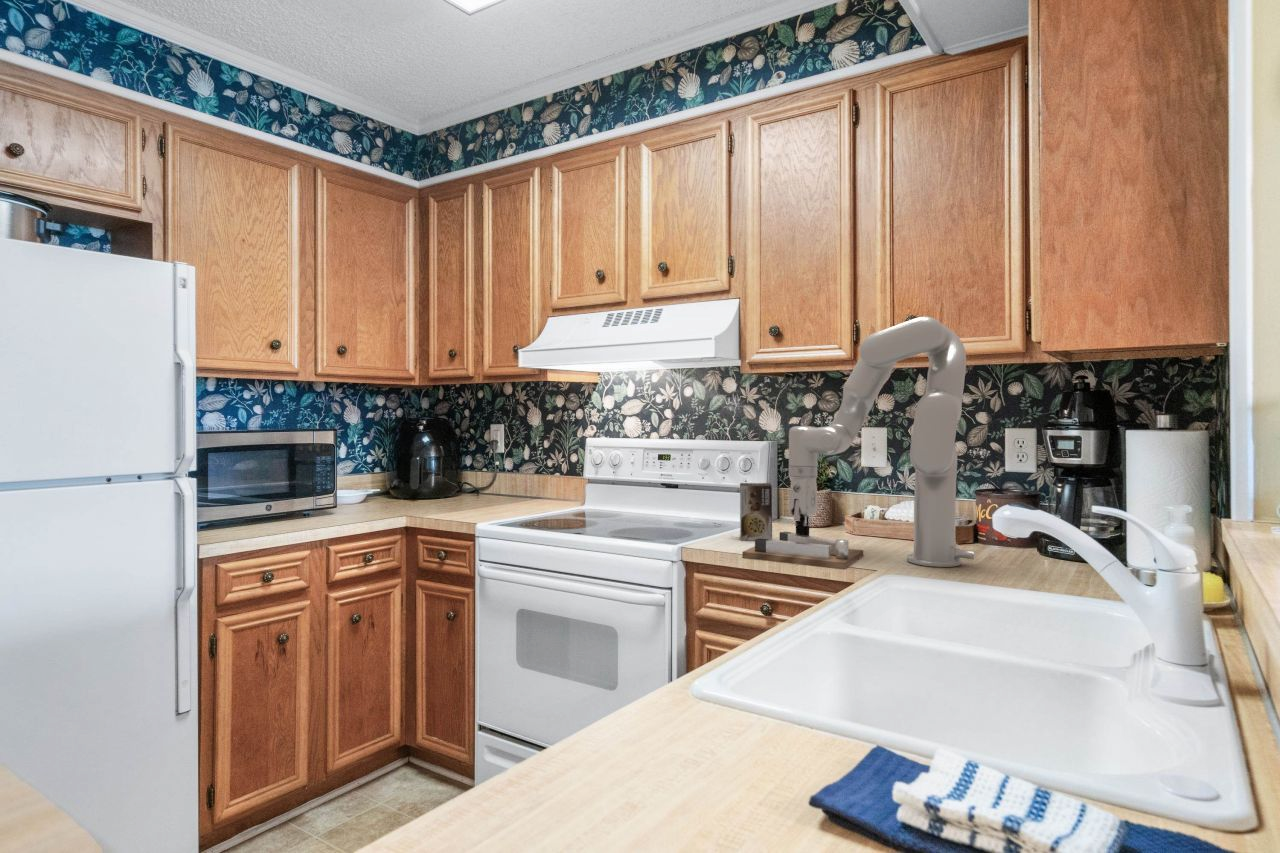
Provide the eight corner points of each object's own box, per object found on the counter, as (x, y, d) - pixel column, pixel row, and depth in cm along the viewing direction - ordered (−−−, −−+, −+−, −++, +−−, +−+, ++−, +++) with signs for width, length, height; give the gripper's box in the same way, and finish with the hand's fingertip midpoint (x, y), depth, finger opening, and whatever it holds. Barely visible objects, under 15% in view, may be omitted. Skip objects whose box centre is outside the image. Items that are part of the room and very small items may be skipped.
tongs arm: (841, 554, 186) (841, 542, 186) (835, 555, 185) (835, 543, 184) (785, 542, 202) (785, 531, 201) (779, 543, 200) (779, 532, 200)
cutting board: (863, 556, 193) (863, 550, 192) (844, 569, 177) (844, 562, 177) (767, 546, 206) (767, 540, 206) (742, 557, 190) (742, 551, 190)
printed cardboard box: (770, 537, 220) (771, 482, 219) (772, 541, 213) (772, 485, 213) (739, 536, 221) (739, 482, 220) (740, 540, 214) (740, 484, 214)
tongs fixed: (849, 557, 183) (849, 539, 183) (845, 561, 179) (845, 542, 179) (760, 548, 194) (761, 531, 194) (754, 551, 191) (754, 534, 191)
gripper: (807, 475, 191) (807, 546, 192) (825, 471, 204) (824, 537, 205) (779, 473, 195) (779, 543, 196) (798, 469, 208) (798, 535, 208)
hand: (802, 540), depth 200 cm, fingers closed
